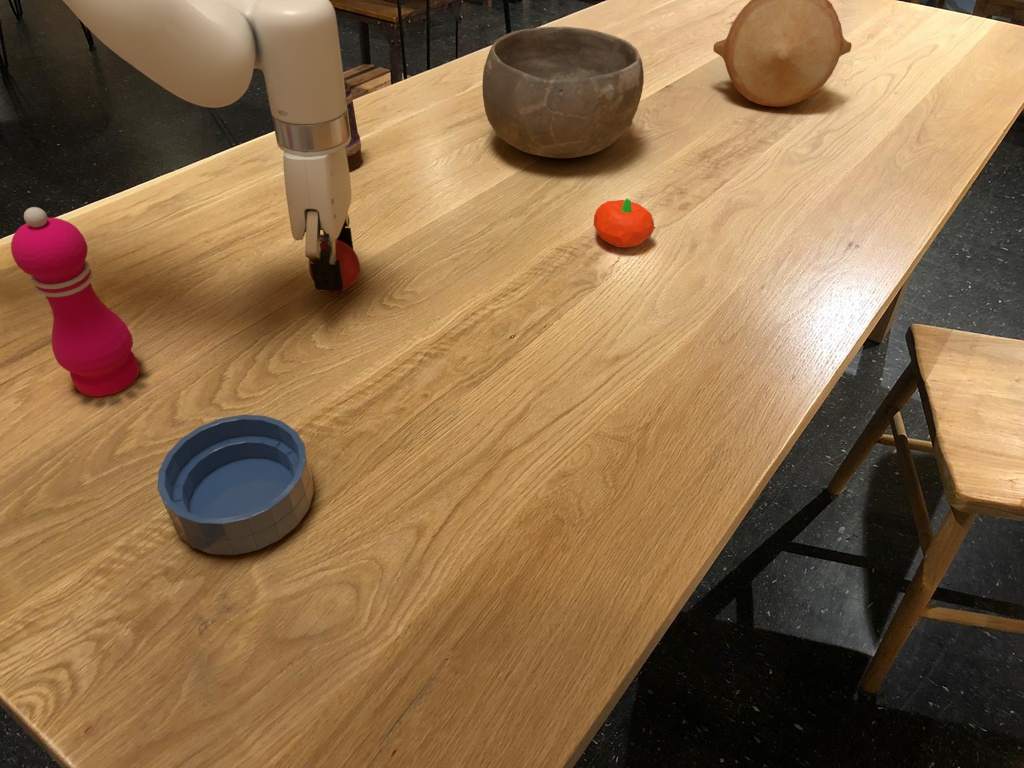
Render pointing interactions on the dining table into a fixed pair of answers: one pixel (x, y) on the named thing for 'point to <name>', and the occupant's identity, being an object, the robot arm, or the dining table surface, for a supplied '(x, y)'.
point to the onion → (344, 263)
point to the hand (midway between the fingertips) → (335, 271)
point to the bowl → (561, 90)
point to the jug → (782, 49)
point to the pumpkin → (623, 223)
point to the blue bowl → (236, 484)
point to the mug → (352, 133)
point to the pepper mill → (75, 305)
